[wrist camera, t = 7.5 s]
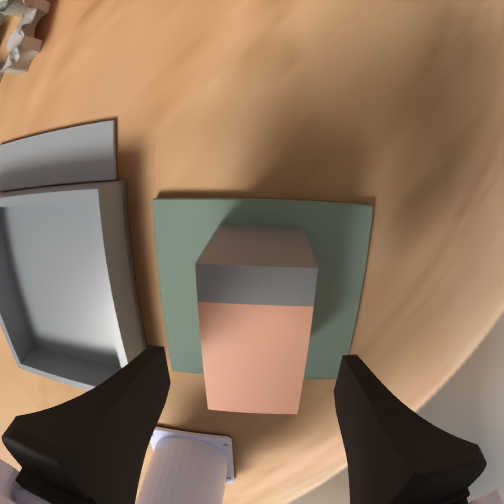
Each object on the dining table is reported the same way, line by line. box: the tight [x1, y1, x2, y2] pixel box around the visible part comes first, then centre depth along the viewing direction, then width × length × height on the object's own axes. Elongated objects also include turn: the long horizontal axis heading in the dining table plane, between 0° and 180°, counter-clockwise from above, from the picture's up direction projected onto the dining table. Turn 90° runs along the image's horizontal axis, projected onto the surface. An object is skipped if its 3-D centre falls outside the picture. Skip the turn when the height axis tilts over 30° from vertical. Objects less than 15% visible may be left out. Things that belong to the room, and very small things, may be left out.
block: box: [195, 225, 318, 414], centre depth 15 cm, size 8×4×6 cm, turn 179°
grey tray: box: [0, 120, 147, 391], centre depth 18 cm, size 21×12×3 cm, turn 179°
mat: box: [152, 198, 373, 379], centre depth 18 cm, size 12×12×1 cm
